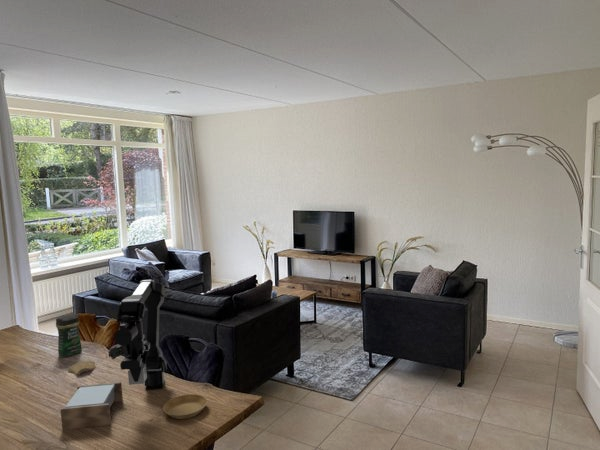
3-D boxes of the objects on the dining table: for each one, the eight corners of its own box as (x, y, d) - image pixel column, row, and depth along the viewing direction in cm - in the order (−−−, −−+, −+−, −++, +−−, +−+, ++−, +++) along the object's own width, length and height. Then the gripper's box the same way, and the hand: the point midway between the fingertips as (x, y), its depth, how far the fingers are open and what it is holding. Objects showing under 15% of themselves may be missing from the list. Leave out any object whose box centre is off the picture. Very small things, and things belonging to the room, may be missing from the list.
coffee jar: (64, 359, 212) (60, 319, 210) (56, 355, 216) (52, 316, 214) (85, 351, 220) (81, 313, 217) (76, 348, 224) (72, 311, 222)
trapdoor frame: (122, 399, 171) (121, 381, 170) (110, 424, 154) (108, 404, 153) (79, 404, 169) (78, 385, 168) (62, 429, 152) (60, 409, 151)
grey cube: (146, 377, 165) (145, 363, 164) (144, 383, 160) (143, 369, 159) (132, 378, 164) (131, 364, 164) (129, 384, 159) (127, 370, 159)
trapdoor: (115, 397, 169) (114, 384, 168) (104, 417, 155) (103, 403, 154) (80, 400, 167) (79, 387, 167) (66, 421, 153) (65, 406, 153)
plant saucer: (171, 401, 169) (170, 394, 169) (211, 400, 169) (211, 393, 168) (157, 423, 154) (157, 415, 154) (202, 422, 154) (201, 414, 154)
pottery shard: (67, 375, 198) (73, 376, 191) (66, 364, 199) (72, 366, 191) (93, 368, 205) (100, 370, 198) (92, 358, 206) (99, 359, 198)
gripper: (116, 327, 168) (120, 369, 170) (102, 346, 150) (106, 392, 152) (148, 325, 170) (151, 366, 172) (137, 343, 151) (141, 389, 153)
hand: (137, 378), depth 162 cm, fingers closed on grey cube, 5 cm apart
